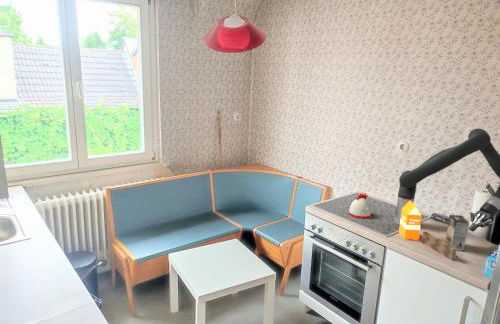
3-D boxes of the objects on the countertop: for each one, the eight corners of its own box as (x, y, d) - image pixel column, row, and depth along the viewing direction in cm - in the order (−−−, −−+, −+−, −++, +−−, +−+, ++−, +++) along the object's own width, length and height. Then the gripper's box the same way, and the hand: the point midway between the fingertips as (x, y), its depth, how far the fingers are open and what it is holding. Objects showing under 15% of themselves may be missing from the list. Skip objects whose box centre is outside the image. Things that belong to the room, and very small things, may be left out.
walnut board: (421, 242, 187) (423, 231, 186) (424, 241, 188) (426, 231, 186) (451, 260, 168) (453, 249, 167) (454, 259, 169) (456, 248, 167)
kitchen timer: (375, 217, 220) (377, 195, 216) (356, 219, 216) (358, 197, 213) (362, 210, 233) (364, 189, 229) (344, 211, 229) (346, 190, 226)
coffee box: (444, 241, 188) (449, 214, 184) (457, 242, 187) (462, 215, 183) (450, 249, 179) (455, 220, 176) (464, 250, 178) (469, 222, 174)
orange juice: (412, 233, 198) (416, 200, 194) (418, 239, 190) (423, 206, 185) (398, 232, 199) (402, 199, 194) (404, 239, 190) (408, 205, 185)
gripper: (478, 198, 189) (457, 221, 188) (500, 206, 176) (478, 231, 176) (484, 206, 191) (463, 229, 191) (507, 215, 179) (484, 239, 178)
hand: (470, 230), depth 183 cm, fingers closed
